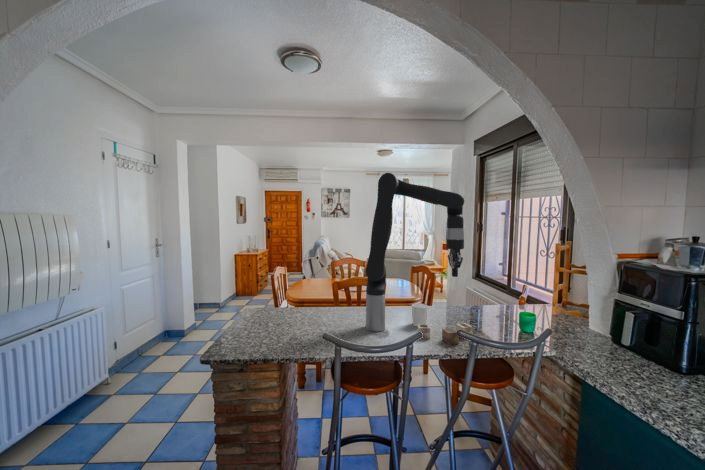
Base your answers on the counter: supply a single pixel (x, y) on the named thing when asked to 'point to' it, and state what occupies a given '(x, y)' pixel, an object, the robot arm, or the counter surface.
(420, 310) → the white cup
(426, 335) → the beech cube left
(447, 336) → the walnut cube
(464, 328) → the beech cube right
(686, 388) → the counter surface
